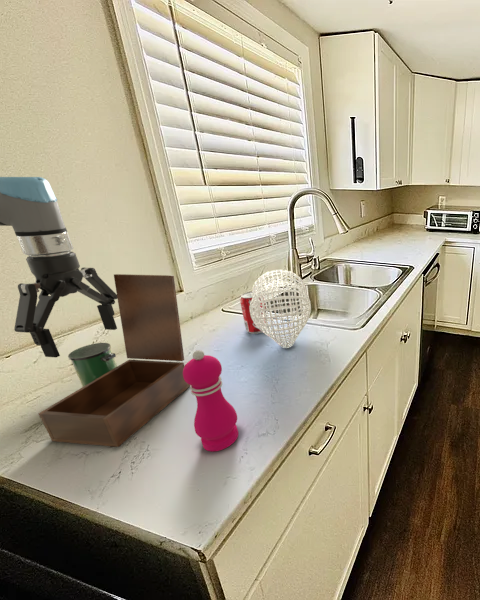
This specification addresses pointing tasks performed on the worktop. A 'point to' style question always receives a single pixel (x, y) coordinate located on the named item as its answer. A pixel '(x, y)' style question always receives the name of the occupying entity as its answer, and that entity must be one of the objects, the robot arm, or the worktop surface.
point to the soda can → (248, 320)
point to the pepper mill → (210, 403)
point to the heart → (257, 313)
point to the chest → (115, 403)
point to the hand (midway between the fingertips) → (84, 341)
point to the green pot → (92, 361)
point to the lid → (149, 316)
